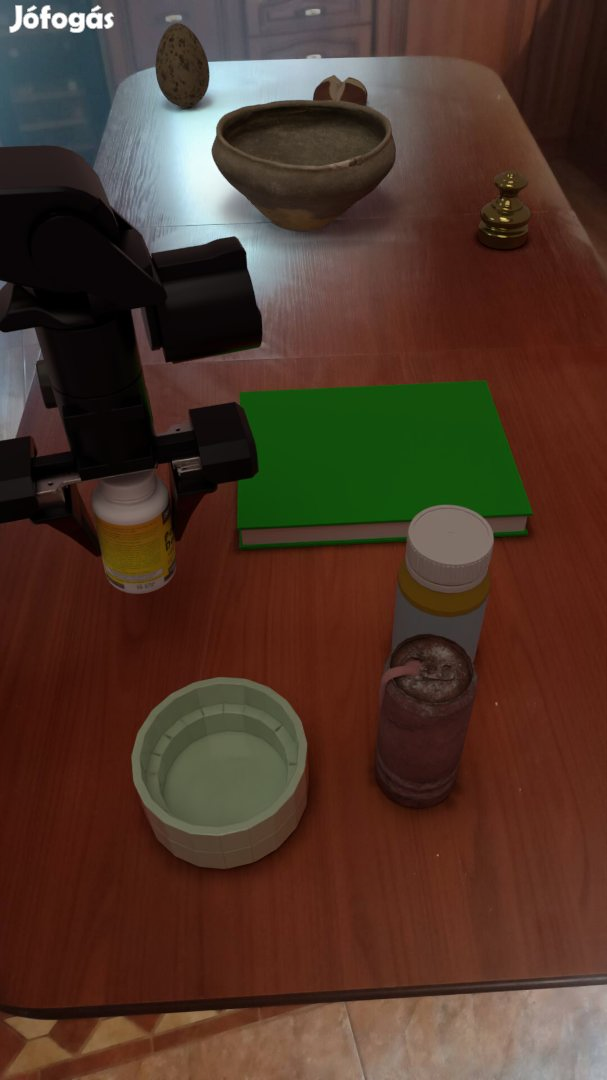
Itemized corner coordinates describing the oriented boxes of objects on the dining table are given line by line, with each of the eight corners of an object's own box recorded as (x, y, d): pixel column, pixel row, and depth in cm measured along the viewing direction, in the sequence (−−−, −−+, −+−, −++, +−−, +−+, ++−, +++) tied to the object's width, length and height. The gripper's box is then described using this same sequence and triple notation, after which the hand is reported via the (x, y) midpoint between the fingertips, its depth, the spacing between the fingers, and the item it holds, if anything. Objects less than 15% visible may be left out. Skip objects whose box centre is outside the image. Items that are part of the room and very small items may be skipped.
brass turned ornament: (502, 255, 118) (513, 187, 111) (466, 237, 123) (475, 170, 115) (536, 241, 121) (549, 173, 114) (500, 224, 125) (511, 158, 118)
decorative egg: (184, 119, 162) (173, 34, 151) (150, 108, 167) (137, 24, 156) (223, 105, 167) (215, 22, 156) (189, 94, 172) (179, 13, 161)
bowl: (184, 215, 130) (172, 123, 120) (310, 168, 143) (309, 81, 133) (298, 276, 115) (295, 176, 105) (428, 217, 128) (436, 123, 118)
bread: (307, 112, 163) (306, 85, 159) (324, 94, 170) (323, 68, 167) (360, 117, 160) (360, 90, 156) (374, 99, 168) (375, 72, 164)
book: (527, 535, 78) (533, 513, 76) (239, 549, 78) (237, 528, 76) (481, 399, 94) (485, 377, 92) (241, 410, 93) (239, 389, 91)
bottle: (483, 639, 70) (511, 516, 59) (459, 702, 65) (484, 581, 54) (407, 614, 72) (420, 490, 61) (378, 673, 67) (388, 552, 57)
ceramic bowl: (154, 890, 55) (139, 854, 51) (139, 737, 64) (125, 695, 59) (325, 849, 57) (325, 811, 53) (289, 706, 65) (286, 663, 61)
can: (358, 754, 62) (364, 645, 52) (432, 727, 64) (451, 617, 54) (392, 824, 58) (404, 721, 48) (469, 794, 60) (497, 689, 50)
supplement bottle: (182, 591, 62) (171, 489, 55) (108, 603, 61) (87, 500, 53) (172, 542, 66) (161, 441, 58) (103, 552, 64) (83, 450, 57)
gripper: (220, 289, 57) (238, 458, 68) (-52, 328, 54) (13, 497, 65) (252, 375, 49) (266, 549, 61) (-63, 426, 46) (13, 599, 58)
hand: (138, 544), depth 61 cm, fingers closed on supplement bottle, 6 cm apart
